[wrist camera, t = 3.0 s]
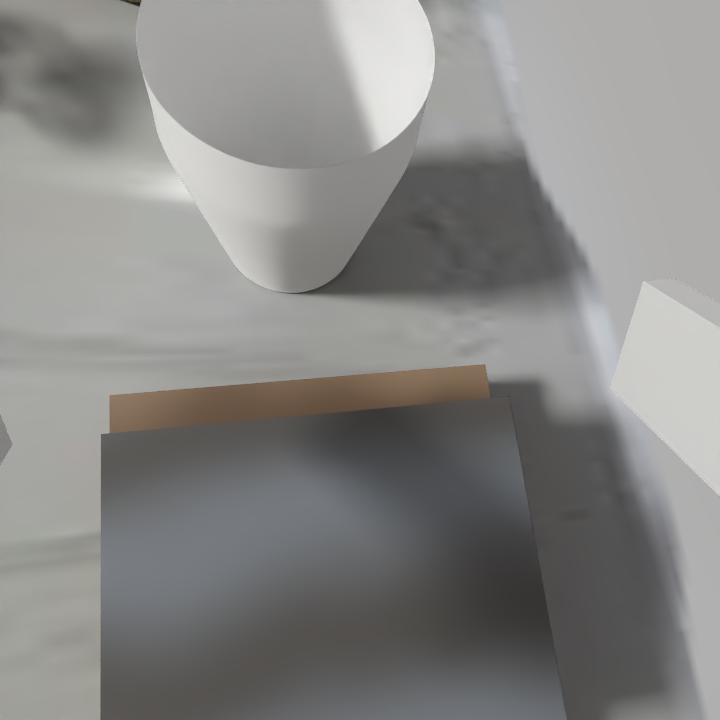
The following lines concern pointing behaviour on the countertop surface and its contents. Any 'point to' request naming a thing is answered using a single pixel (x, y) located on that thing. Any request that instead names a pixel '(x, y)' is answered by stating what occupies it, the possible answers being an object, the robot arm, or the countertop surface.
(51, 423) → the countertop surface
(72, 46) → the countertop surface
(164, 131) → the cup
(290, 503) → the stepped display pedestal
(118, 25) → the countertop surface
